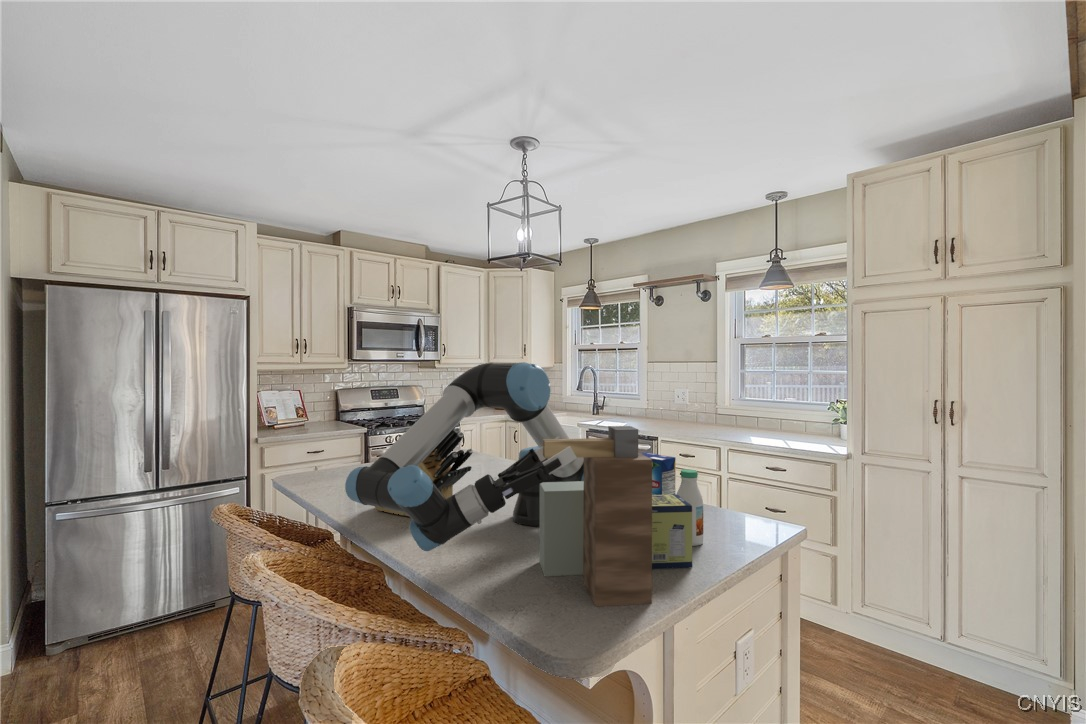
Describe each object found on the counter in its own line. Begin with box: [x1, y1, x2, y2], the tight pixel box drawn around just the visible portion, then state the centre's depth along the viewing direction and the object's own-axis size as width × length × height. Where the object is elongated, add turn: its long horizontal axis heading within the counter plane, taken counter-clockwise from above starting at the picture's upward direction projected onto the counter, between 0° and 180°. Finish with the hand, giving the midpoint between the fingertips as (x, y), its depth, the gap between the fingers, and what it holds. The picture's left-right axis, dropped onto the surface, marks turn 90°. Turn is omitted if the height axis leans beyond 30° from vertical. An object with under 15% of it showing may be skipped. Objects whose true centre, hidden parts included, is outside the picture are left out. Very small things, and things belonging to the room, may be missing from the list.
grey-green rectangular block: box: [538, 481, 584, 578], centre depth 125 cm, size 9×13×20 cm
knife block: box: [374, 425, 474, 517], centre depth 169 cm, size 11×35×31 cm, turn 61°
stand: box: [582, 451, 653, 608], centre depth 112 cm, size 12×12×30 cm
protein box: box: [652, 493, 693, 570], centre depth 130 cm, size 10×16×16 cm
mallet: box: [543, 425, 639, 458], centre depth 111 cm, size 6×20×6 cm, turn 98°
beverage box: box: [640, 452, 677, 495], centre depth 155 cm, size 7×11×22 cm, turn 40°
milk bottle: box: [675, 468, 704, 547], centre depth 144 cm, size 8×8×20 cm
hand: (567, 446), depth 110 cm, fingers open, 13 cm apart
